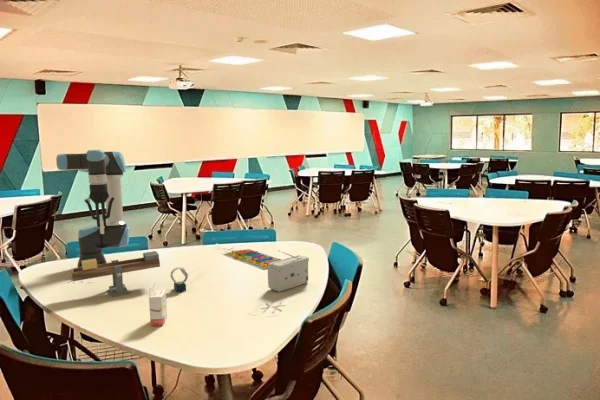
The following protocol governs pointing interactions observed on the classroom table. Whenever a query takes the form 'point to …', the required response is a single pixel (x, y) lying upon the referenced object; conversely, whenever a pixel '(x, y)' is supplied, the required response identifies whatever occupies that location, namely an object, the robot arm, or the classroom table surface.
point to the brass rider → (89, 264)
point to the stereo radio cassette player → (288, 272)
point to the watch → (181, 285)
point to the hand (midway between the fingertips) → (102, 233)
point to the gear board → (252, 258)
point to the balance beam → (127, 265)
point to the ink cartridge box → (157, 306)
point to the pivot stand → (118, 282)
